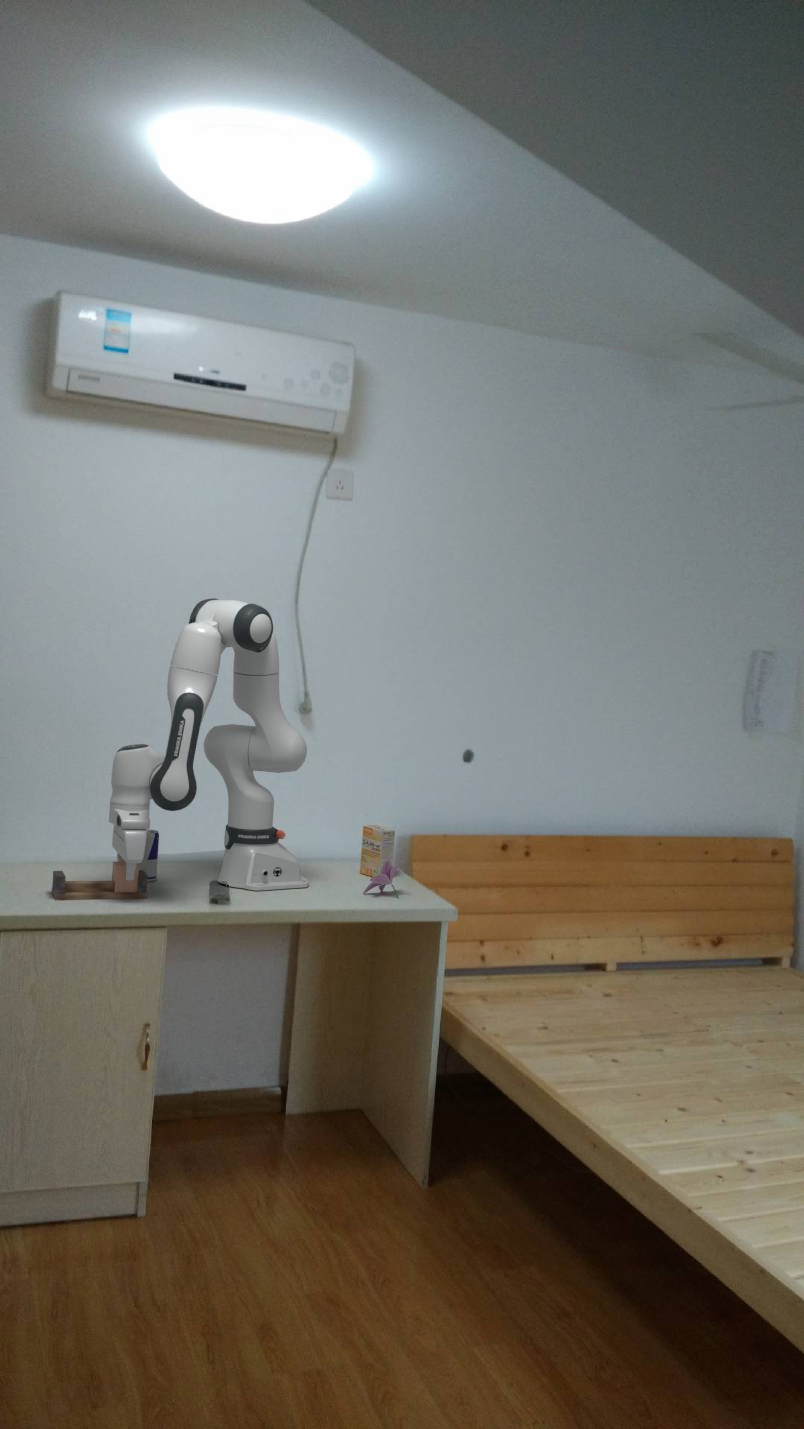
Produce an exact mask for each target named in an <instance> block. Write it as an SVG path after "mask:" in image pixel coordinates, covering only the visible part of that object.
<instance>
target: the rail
mask: <svg viewBox="0 0 804 1429" xmlns="http://www.w3.org/2000/svg"><path fill="white" fill-rule="evenodd" d="M147 877H148V875H147V874H146V873H145V872H144V871H143V870H139V872H138V888H137V892H122V893H115V892H114V886H115V882H114V881H112V880H68V881H67V880H66V874H65V873H64V871H63V870H53V871H52V887H51V894H52V895H53V897H54V900H55V901H68V900H69V901H72V900H73V901H74V900H76V901H77V900H79V901H80V900H112V899H113V900H114V899H116V900H117V899H118V900H121V899H122V900H123V899H128V900H129V899H148V892H147V890H148V882H147Z"/></svg>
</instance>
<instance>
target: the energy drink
mask: <svg viewBox="0 0 804 1429" xmlns="http://www.w3.org/2000/svg"><path fill="white" fill-rule="evenodd" d="M146 830H147V837H146V845H145V852H144V857H143V861H142V862H141V863H137V864H138V866H139V870H143V871H144V872H145V873H146V874H147V875H148V877H147V883H152V882H155V881H156V880H157V878H158V877H157V875H158V861H159V860H158V859H159V857H158V856H159V846H160V833H159V830H156V829H150V828H149V829H146Z"/></svg>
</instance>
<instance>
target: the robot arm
mask: <svg viewBox="0 0 804 1429" xmlns="http://www.w3.org/2000/svg"><path fill="white" fill-rule="evenodd" d="M273 623H274V622H273V619H272V615H271V613H270V612H269V611H268V610H267V609H266V608H264V607H263V606H261V605H259V604H256V603H249V602H246V601H242V600H237V599H218V598H216V597H215V598H214V597H213V598H205V599H203V600H200V601H198V603H196V605H195V606H194V608H193V609H192V611H191V613H190V615H189V621H188V624H186V625H184V626H183V628H181V631H180V634H179V636H178V638H177V641H176V643H175V646H174V649H173V652H172V656H171V660H170V662H169V663H170V664H169V665H170V666H169V669H168V675H167V676H168V677H167V688H166V689H167V691H166V692H167V693H166V694H167V700H168V704H169V707H170V708H169V709H170V719H171V722H170V730H169V733H168V734H169V735H168V740H167V745H166V751H165V755H163V754H161V752H158V751H156V750H154V749H153V748H152V747H151V746H150V745H149V744H144V743H140V744H139V743H136V744H129V745H124V746H122V747H121V748H119V749H118V750H117V751H116V752H115V755H114V757H113V761H112V768H111V781H110V782H111V783H110V784H111V788H112V790H111V791H112V792H111V796H110V800H109V811H108V812H109V813H108V814H109V815H108V816H109V817H108V822H109V823H110V824H112V825H113V830H112V841H111V843H112V848H113V849H114V851H116V858H117V862H126V871H125V879H126V880H133V879H134V872H135V869H136V863H141V862H142V861H143V857H144V852H145V845H146V837H147V830H146V829H149V830H150V828H151V819H150V807H151V804H150V803H151V800H152V801H153V803H154V804H155V805H157V807H159V808H160V809H163V810H165V811H168V812H169V811H170V812H175V811H176V812H177V811H180V810H183V809H186V808H187V807H188V806H189V805H191V804H192V802H193V801H194V800H195V797H196V795H197V792H198V790H197V788H198V787H197V780H196V776H195V772H194V761H195V755H196V749H197V745H198V739H199V734H200V729H201V726H202V722H203V719H204V717H205V714H206V712H207V709H208V707H209V706H210V702H211V700H212V697H213V694H214V691H215V688H216V685H217V681H218V677H219V671H220V664H221V656H222V654H223V652H224V651H225V650H226V648H232V649H233V652H234V653H233V654H234V656H233V674H232V675H233V676H232V678H233V679H232V680H233V681H232V683H233V684H232V699H233V702H234V703H235V705H236V707H238V709H239V710H241V711H242V712H244V713H245V714H247V715H248V716H249V717H250V718H251V719H252V721H253V723H254V725H246V724H235V723H234V724H233V723H230V724H221V725H215V726H213V727H212V728H210V729H209V730H208V732H207V734H206V736H205V738H204V741H203V752H204V755H205V758H206V759H207V761H208V762H209V763H210V764H211V765H212V766H213V767H214V768H215V769H216V770H217V771H218V773H219V774H220V775H221V777H222V779H223V781H224V784H225V787H226V791H227V798H228V800H227V801H228V802H227V804H228V806H227V808H228V809H227V810H228V813H227V815H228V817H227V824H225V830H224V841H223V843H224V844H223V845H224V855H223V861H222V864H221V868H220V871H219V875H218V877H217V880H221V881H227V882H228V884H229V886H228V887H233V888H238V889H246V890H249V891H258V892H259V891H269V890H270V891H272V890H286V889H300V888H302V889H303V888H307V887H309V885H310V884H309V880H308V879H307V878H306V877H305V876H303V875H301V868H300V867H301V866H300V862H299V859H298V858H297V857H296V856H295V855H294V854H293V853H292V852H291V851H290V850H288V849H287V848H286V847H285V846H284V845H283V844H281V843H280V842H279V841H280V840H283V839H285V838H286V832H285V831H283V830H282V829H280V830H279V829H278V828H276V827H274V826H273V824H274V807H275V798H274V795H273V793H272V792H271V791H270V790H269V789H268V788H267V787H265V786H264V785H262V784H261V783H259V782H258V781H257V779H256V777H255V774H254V771H255V772H266V773H274V774H275V773H276V774H280V773H290V772H297V771H298V770H299V769H301V767H303V764H304V763H305V761H306V758H307V753H308V749H307V748H308V747H307V742H306V741H305V738H304V737H303V735H302V734H301V733H300V732H298V731H297V730H296V729H295V727H293V726H292V725H291V724H290V722H289V721H288V719H287V717H286V715H285V713H284V710H283V708H282V705H281V704H282V703H281V698H280V657H279V648H278V643H277V642H278V641H277V638H276V634H275V632H274V624H273Z"/></svg>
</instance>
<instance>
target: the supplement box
mask: <svg viewBox="0 0 804 1429" xmlns="http://www.w3.org/2000/svg"><path fill="white" fill-rule="evenodd" d="M395 836H396V830H395V829H391V828H389V827H384V826H381V825H378V824H365V825H363V826H362V836H361V838H362V839H361V852H360V864H359V873H360V874H362V875H365V876H366V877H367V876H368V877H371V878H372V877H374V876H376V875H378V874H380V869H381V867H382V865H383V864H384V863H385V861H386V860H387V859H390V860H391V862H392V864H394V863H393V862H394V861H393V860H394V849H395V839H396V838H395Z"/></svg>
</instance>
